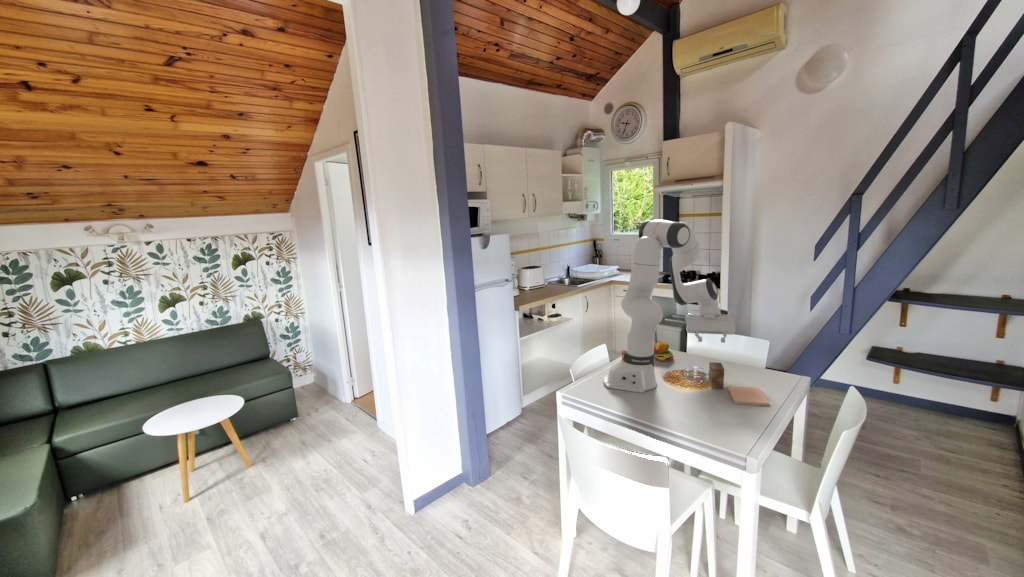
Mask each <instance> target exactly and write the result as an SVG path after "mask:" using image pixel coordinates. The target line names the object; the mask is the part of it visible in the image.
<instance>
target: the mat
mask: <svg viewBox="0 0 1024 577" xmlns="http://www.w3.org/2000/svg"><path fill="white" fill-rule="evenodd" d="M726 389H727V391H728V393H729V395H730V396H731V399H732V400H733V402H734V404H737V405H749V406H751V405H752V406H765V407H770V406H771V403H770V402H769V400H768V399H767V397H766V395H765V394H764V393H763V391H762V390H761V388H760V387H751V386H750V387H749V386H737V385H735V386H734V385H727V386H726Z"/></svg>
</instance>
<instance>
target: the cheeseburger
mask: <svg viewBox="0 0 1024 577" xmlns="http://www.w3.org/2000/svg"><path fill="white" fill-rule="evenodd" d="M669 347H670V345H669V343H668V342H666V341H658V342H654V353H655V361H657V362H658V361H659V362H663V363H666V362H670V361H672V360H673V359H674V356H675V355H674V352H673V351H672V349H670V348H669Z"/></svg>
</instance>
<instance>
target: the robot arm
mask: <svg viewBox="0 0 1024 577" xmlns="http://www.w3.org/2000/svg"><path fill="white" fill-rule="evenodd" d="M634 246H635V247H634V249H633V253H632V260H631V268H630V277H629V283H628V286H627V290H626V293H625V295H624V296H623V297H622V299H621V303H620V305H621V306H620V307H621V308H622V310H623V312H624V313H625V315H626V316H627V317H629V318H630V319H631V325H630V330H629V331H628V333H627V335H626V338H627V339H626V350H625V349H624V348H623V349H621V351H620V353H621V359H620V360H618V361H617V362H615V363H613V364H612V365H611V367H610V368H609V371H608V373H607V374H606V375H604V377H603V385H604V386H605V387H606V388H609V389H615V390H622V391H628V392H635V393H644V392H646V391H651V390H653V389H654V388H656V387H657V386H658V383H657V379H656V374H655V365H656V359H655V353H654V343H655V336H656V335H655V334H656V331H657V327H658V325H659V324H660V323H661V322H662V320H663V317H664V312H663V309H662V308H661V307H660V305H659V303H658V302H656V301H655V300H652V299H651V298H652V294H653V291H654V289H655V287H656V286H657V285H658V283H659V275H660V268H661V267H660V266H661V251H662V248H671V251H672V256H671V257H670V258H669V261H668V270H669V274H670V280H671V287H672V296H673V300H674V302H675V303H677V304H678V305H680V306H685V305H686V306H687V305H689V304H693V303H694V304H695V303H697V304H698V307H697V313H695V314H694V313H693V314H692V313H688V314H687V315H685V316H684V321H685V322H686V329H685V330H686V332H687V334H694V336H695V337H696V339H697V341H698V342H700V343H702V342H703V336H700V334H703V335H705V334H707V335H722V336H723V337H720V343H721V344H723V343H726V337H727V336H728V335H734V334H735V332H736V326H735V321H734V319H733V317H731V311H730V310H727V309H726V310H725V309H722V308H720V307H719V305H718V301H719V299H718V297H719V294H718V292H719V291H718V287H717V285H716V283H715V282H714V281H712V280H710V279H709V278H704V279H700V280H695V281H690V282H682V277H681V272H682V271H683V270H684V269H686V268H688V267H689V266H691V265H692V264H695V262H696V261H697V260H698V258H699V257H700V255H701V247H700V243H699V239H698V238H697V235H696V233H695V231H694V230H693V228H692V226H691V225H690V224H689V223H688V222H685V221H673V220H667V219H654V218H653V219H647V220H645V221H643V222H642V223H641V224H640V226H639V230H638V239H637V241H636V242H635V245H634Z"/></svg>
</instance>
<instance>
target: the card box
mask: <svg viewBox="0 0 1024 577" xmlns="http://www.w3.org/2000/svg"><path fill="white" fill-rule="evenodd" d="M709 381H710V384H711V386H710V389H711V388H712V390H724V383H725V382H724V381H725V367H724V365H723V364H722V362H716V361H715V362H714V361H711V362H709V367H708V382H709ZM710 384H709V385H710Z"/></svg>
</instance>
